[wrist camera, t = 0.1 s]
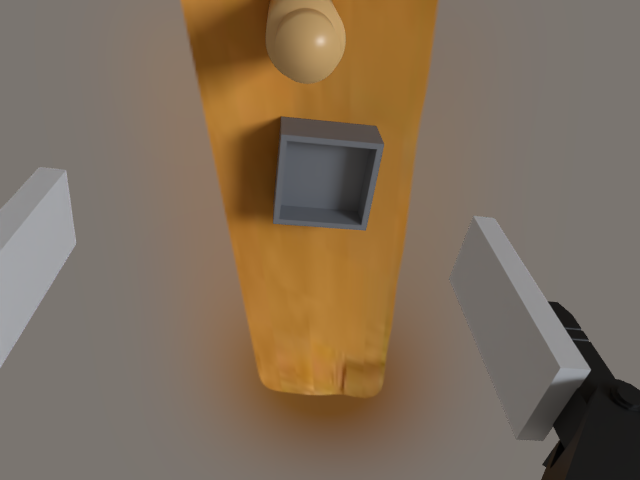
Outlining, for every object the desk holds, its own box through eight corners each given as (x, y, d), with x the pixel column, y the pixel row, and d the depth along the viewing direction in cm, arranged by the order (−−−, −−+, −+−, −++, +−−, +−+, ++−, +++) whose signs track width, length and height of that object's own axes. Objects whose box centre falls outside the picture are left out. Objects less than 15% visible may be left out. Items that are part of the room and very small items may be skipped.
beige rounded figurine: (270, -27, 37) (267, -2, 27) (337, -18, 38) (357, 10, 28) (266, 43, 40) (261, 88, 30) (328, 51, 40) (343, 97, 31)
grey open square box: (281, 116, 43) (281, 134, 40) (376, 126, 44) (384, 144, 41) (273, 201, 48) (273, 223, 44) (359, 208, 49) (365, 230, 45)
